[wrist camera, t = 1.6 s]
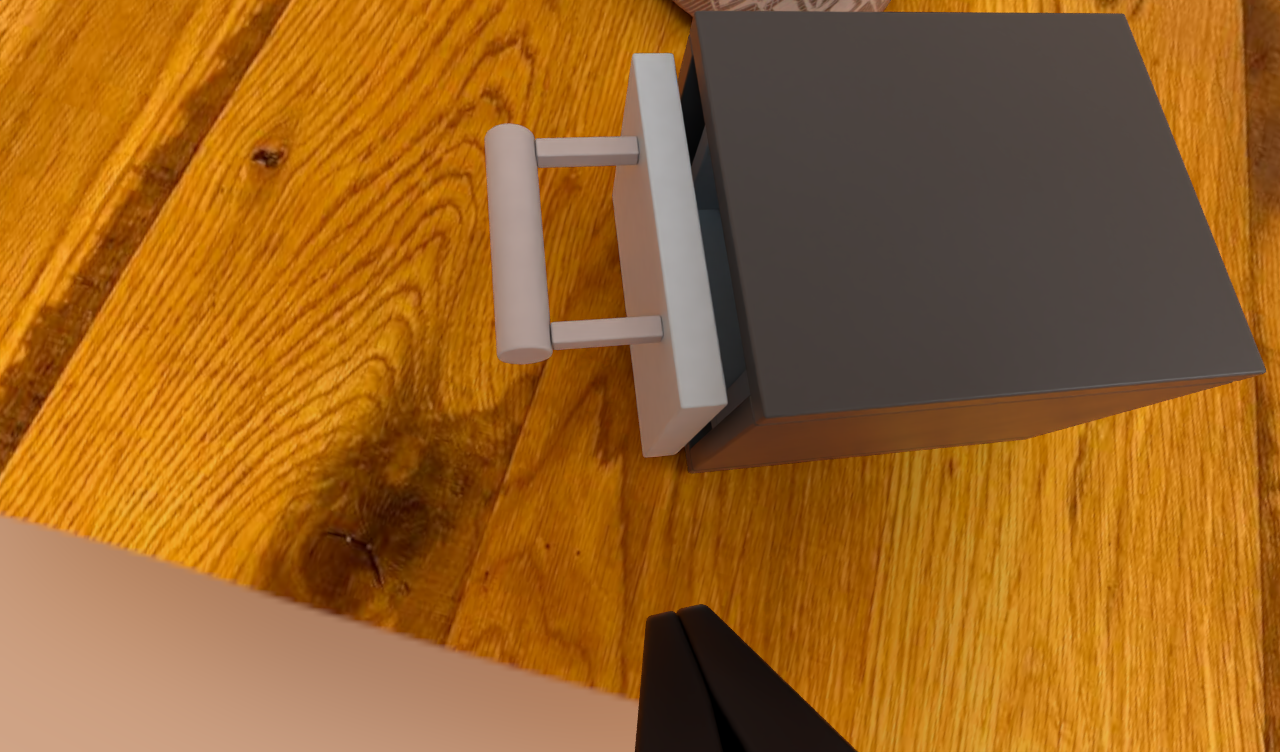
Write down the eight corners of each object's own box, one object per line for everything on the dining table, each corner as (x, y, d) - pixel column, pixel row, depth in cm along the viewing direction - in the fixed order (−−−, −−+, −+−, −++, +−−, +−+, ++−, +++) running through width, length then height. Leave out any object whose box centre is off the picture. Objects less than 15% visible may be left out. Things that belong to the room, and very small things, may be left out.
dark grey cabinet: (688, 474, 23) (764, 418, 15) (649, 192, 26) (693, 9, 18) (1025, 439, 25) (1269, 372, 17) (952, 181, 28) (1125, 12, 20)
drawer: (517, 470, 22) (497, 424, 15) (499, 198, 24) (476, 52, 18) (970, 426, 24) (1137, 369, 17) (907, 184, 27) (1028, 51, 20)
